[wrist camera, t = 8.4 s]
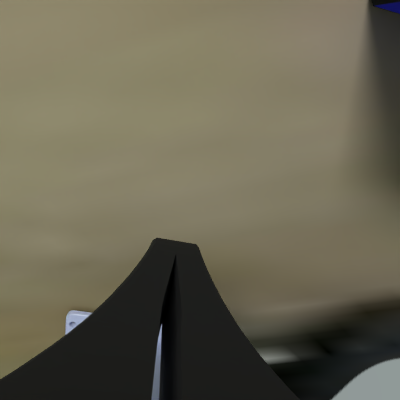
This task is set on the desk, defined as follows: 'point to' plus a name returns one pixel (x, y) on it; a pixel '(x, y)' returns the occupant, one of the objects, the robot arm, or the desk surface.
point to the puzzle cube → (388, 5)
